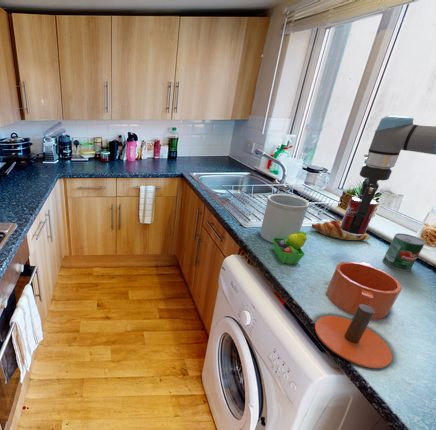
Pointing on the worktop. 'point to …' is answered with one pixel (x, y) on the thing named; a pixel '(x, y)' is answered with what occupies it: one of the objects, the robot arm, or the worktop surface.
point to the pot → (363, 288)
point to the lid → (354, 339)
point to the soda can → (349, 216)
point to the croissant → (337, 231)
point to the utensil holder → (283, 216)
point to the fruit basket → (290, 247)
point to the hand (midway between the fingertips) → (352, 228)
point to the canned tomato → (403, 251)
